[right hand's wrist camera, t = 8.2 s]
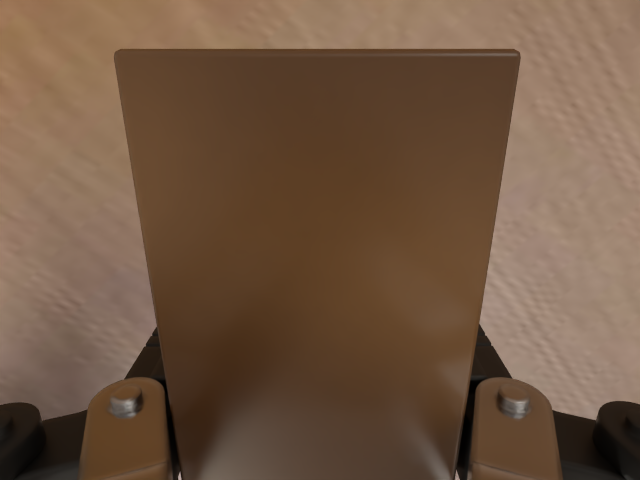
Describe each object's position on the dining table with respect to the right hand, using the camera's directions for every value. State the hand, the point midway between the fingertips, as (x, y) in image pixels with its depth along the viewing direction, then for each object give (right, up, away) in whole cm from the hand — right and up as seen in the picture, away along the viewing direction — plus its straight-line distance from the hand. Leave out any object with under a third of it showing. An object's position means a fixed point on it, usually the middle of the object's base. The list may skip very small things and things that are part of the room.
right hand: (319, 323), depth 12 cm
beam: (0, -26, +14) cm, 30 cm away
